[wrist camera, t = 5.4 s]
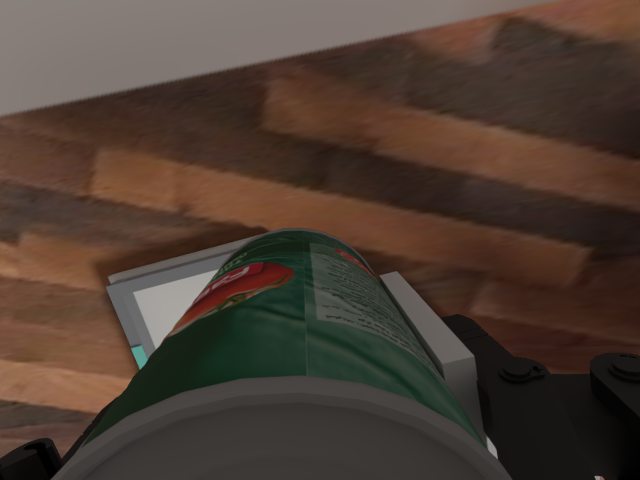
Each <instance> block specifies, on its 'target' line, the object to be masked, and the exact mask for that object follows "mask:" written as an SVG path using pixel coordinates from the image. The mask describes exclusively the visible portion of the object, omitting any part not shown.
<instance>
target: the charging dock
mask: <svg viewBox="0 0 640 480" xmlns="http://www.w3.org/2000/svg"><path fill="white" fill-rule="evenodd" d="M260 235H261V234H260ZM257 236H259V235H256V236H253V237H249V238H245V239H242V240H238V241H234V242H230V243H227V244H223V245H219V246H216V247H212V248H208V249H204V250H201V251H197V252H193V253H190V254H186V255H182V256H178V257H175V258H171V259H167V260H164V261H160V262H156V263H152V264H149V265H145V266H141V267H137V268H134V269H130V270H126V271H123V272H119V273H115V274H112V275H110V276H109V277H108V279H109V281H110V285H108V286H106V289H107V291H108V294H109V296H110V299H111V301H112V303H113V306H114V308H115V310H116V313H117V315H118V318H119V320H120V322H121V325H122V327H123V329H124V332H125V334H126V337H127V339H128V341H129V344H130V346H131V349H132V352H133V354H134V357H135V359H136V361H137V364H138V366H139V369H141V368H142V367H143V366H144V365H145V364H146V362H147V360H148V359H149V357H150V355H151V354H152V353H153V352H154V351H155V350H156V349H157V348H158V347H159V346H160V344H161V343H162V341H163V339H164V338H165V337H166V336H167V335H168V333H169V332H170V331H171V330H172V329H173V327H174V326H175V324H176V323H177V322H178V321H179V320H180V318H181V317H182V316H183V315H184V313H185V311H186V310H187V309H188V308H189V307H190V306H191V305H192V303H193V301H194V300H195V299H196V298H197V297H198V296H199V294H200V293H201V291H202V290H203V289H204V288H205V287H206V285H207V284H208V283H209V281H210V280H211V279H212V278H213V276H214V275H215V274H216V273H217V272H218V270H219V269H220V267H221V265H222V264H223V262H224V261H225V260H226V259H227V258H228V257H229V256H230V255H231V254H232V253H233V252H234V251H235V250H236V249H237V248H239V247H240V246H242V245H243V244H244V243H246V242H247V241H249V240H250V239H253V238H255V237H257Z"/></svg>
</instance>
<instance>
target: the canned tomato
mask: <svg viewBox="0 0 640 480" xmlns="http://www.w3.org/2000/svg"><path fill="white" fill-rule="evenodd" d="M51 480H512V478H511V477H510V476H509V474H508V473H507V471H506V470H505V468H504V467H503V466H502V464H501V463H500V462H499V461H498V459H497V458H496V457H495V456H494V455H493V454H492V453H490V452H489V450H488V449H487V447H486V445H485V444H484V442H483V441H482V439H481V438H480V436H479V434H478V433H477V431H476V429H475V427H474V426H473V424H472V422H471V420H470V418H469V417H468V415H467V413H466V412H465V411H464V409H463V408H462V406H461V405H460V403H459V402H458V401H457V399H456V398H455V396H454V395H453V394H452V392H451V390H450V388H449V386H448V385H447V383H446V382H445V381H444V379H443V378H442V376H441V375H440V374H439V372H438V371H437V369H436V367H435V365H434V364H433V362H432V361H431V360H430V358H429V357H428V355H427V354H426V352H425V351H424V349H423V347H422V346H421V344H420V343H419V341H418V340H417V339H416V337H415V335H414V334H413V332H412V331H411V329H410V328H409V326H408V325H407V324H406V322H405V320H404V319H403V317H402V316H401V314H400V313H399V311H398V310H397V308H396V307H395V305H394V304H393V302H392V301H391V299H390V298H389V296H388V295H387V293H386V292H385V290H384V289H383V287H382V285H381V284H380V283H379V281H378V280H377V278H376V277H375V274H374V272H373V271H372V269H371V268H370V266H369V265H368V263H367V262H366V261H365V259H364V258H363V257H362V256H361V255H360V254H359V253H358V252H357V251H356V250H355V249H354V248H352V247H351V246H350V245H348V244H347V243H345V242H343V241H342V240H340V239H339V238H337V237H335V236H332V235H330V234H327V233H324V232H321V231H318V230H312V229H306V228H283V229H279V230H275V231H270V232H266V233H264V234H261V235H259V236H257V237H255V238H253V239H250V240H249V241H247V242H246V243H244V244H243V245H242V246H240V247H239V248H237V249H236V250H235V251H234V252H233V253H232V254H231V255H230V256H229V257H228V258H227V259H226V260H225V261H224V262H223V264H222V265H221V267H220V269H219V270H218V272H217V273H216V274H215V275H214V276H213V278H212V279H211V280H210V281H209V283H208V284H207V285H206V287H205V288H204V289H203V290H202V291H201V293H200V294H199V296H198V297H197V298H196V299H195V300H194V301H193V303H192V305H191V306H190V307H189V308H188V309H187V310H186V311H185V313H184V315H183V316H182V317H181V318H180V320H179V321H178V322H177V323H176V324H175V326H174V327H173V329H172V330H171V331H170V332H169V333H168V335H167V336H166V337H165V338H164V339H163V341H162V343H161V344H160V346H159V347H158V348H157V349H156V350H155V351H154V352H153V353H152V354H151V355H150V357H149V359H148V360H147V362H146V364H145V365H144V366H143V367H142V368H141V369H140V370H139V371H138V372H137V374H136V375H135V376H134V377H133V378H132V380H131V382H130V383H129V385H128V387H127V388H126V390H125V391H124V392H123V393H122V394H121V395H120V396H119V397H118V398H117V399H116V400H115V401H114V402H113V403H112V404H111V406H110V407H109V409H108V411H107V412H106V413H105V415H104V416H103V418H102V419H101V421H100V422H99V424H98V425H97V426H96V428H95V429H94V430H93V432H92V433H91V434H90V435H89V437H88V438H87V439H86V441H85V442H84V443H83V445H82V446H81V447H80V449H79V450H78V451H77V452H76V453H75V454H74V455H73V457H72V458H71V459H70V460H69V461H68V462H67V463H66V464H65V465H64V466H63V467H62V468H61V469H60V470H59V471H58V472H57V473H56V475H55V476H54V477H53V478H52V479H51Z"/></svg>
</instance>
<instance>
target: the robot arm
mask: <svg viewBox="0 0 640 480" xmlns="http://www.w3.org/2000/svg"><path fill="white" fill-rule="evenodd" d="M379 277H380V282H381V285H382V287H383V289H384V290H385V292H386V293H387V295H388V296H389V298H390V299H391V301H392V302H393V304H394V305H395V307H396V308H397V310H398V311H399V313H400V314H401V316H402V317H403V319H404V320H405V322H406V324H407V325H408V326H409V328H410V329H411V331H412V332H413V334H414V335H415V337H416V339H417V340H418V341H419V343H420V344H421V346H422V347H423V349H424V351H425V352H426V354H427V355H428V357H429V358H430V360H431V361H432V362H433V364H434V365H435V367H436V369H437V371H438V372H439V374H440V375H441V376H442V378H443V379H444V381H445V382H446V383H447V385H448V386H449V388H450V390H451V392H452V394H453V395H454V396H455V398H456V399H457V401H458V402H459V403H460V405H461V406H462V408H463V409H464V411H465V412H466V413H467V415H468V417H469V418H470V420H471V422H472V424H473V426H474V427H475V429H476V431H477V433H478V434H479V436H480V438H481V439H482V441H483V442H484V444H485V445H486V447H487V449H488V444H487V438H486V435H487V437H488V438H489V439H490V441H491V442H492V444H493V445H494V447H495V448H496V450H497V457H498V461H499V462H500V463H501V464H502V466H503V467H504V468H505V470H506V471H507V473H508V474H509V476H510V477H511V478H512V480H596V479H595V476H602V477H603V478H604V479H605V480H640V356H638V355H633V354H627V353H607V354H603V355H599V356H596V357H595V358H594V359H593V360H591V361H590V374H569V375H561V374H550V372H549V371H548V370H547V369H546V367H544V366H543V365H541V364H539V363H538V362H536V361H533V360H530V359H527V358H521V357H513V356H512V355H511V354H510V353H509V352H508V351H507V350H505V349H504V348H503V347H502V346H501V345H500V344H499V343H498V342H497V341H495V340H494V339H493V338H492V337H491V336H489V335H488V333H487V332H485V331H484V330H483V329H481V327H480V326H479V325H478V324H476V323H475V322H474V321H473V320H472V319H470V318H467V317H465V316H462V315H460V314H456V315H452V316H447V317H443V318H439V317H438V316H437V315H436V314H435V312H434V311H433V310H432V309H431V308H430V307H429V306H428V305H427V304H426V303H425V301H424V300H423V299H422V298H421V297H420V296H419V295H418V294H417V293H416V292H415V291H414V289H413V288H412V287H411V286H410V285H409V284H408V283H407V282H406V281H405V280H404V278H403V277H402V276H401V275H400V274H399V273H398V272H397V271H396V272H391V273H387V274H383V275H379ZM125 390H126V389H125ZM117 398H118V397H117ZM117 398H115V399H114V400H113V401H112V402H111V403H109V404H108V405H107V406H106V407H104V408H103V409H102V410H101V411H100V413H99V414H98V415H97V416H96V418H95V419H94V420H93V421H92V424H90V425H89V426H88V427H87V429H86V430H85V431H84V432H83V435H81V436H80V437H79V438H78V440H77V441H76V442H75V443H74V444H73V446H72V447H71V448H70V449H69V451H68V452H67V453H66V454H65V455H64V457H63V458H62V459H61V457H60V455H59V453H58V451H57V449H56V447H55V445H54V442H53V440H51V439H49V438H41V439H37V440H34V441H31V442H28V443H26V444H24V445H22V446H20V447H18V448H16V449H14V450H13V451H11V452H9V453H8V454H6V455H5V456H3V457H2V458H0V480H51V479H52V478H53V477H54V476H55V475H56V473H57V472H58V471H59V470H60V469H61V468H62V467H63V466H64V465H65V464H66V463H67V462H68V461H69V460H70V459H71V458H72V457H73V455H74V454H75V453H76V452H77V451H78V450H79V449H80V447H81V446H82V445H83V443H84V442H85V441H86V439H87V438H88V437H89V435H90V434H91V433H92V432H93V430H94V429H95V428H96V426H97V425H98V424H99V422H100V421H101V419H102V418H103V416H104V415H105V413H106V412H107V411H108V409H109V407H110V406H111V404H112V403H113V402H114V401H115V400H116V399H117Z"/></svg>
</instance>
